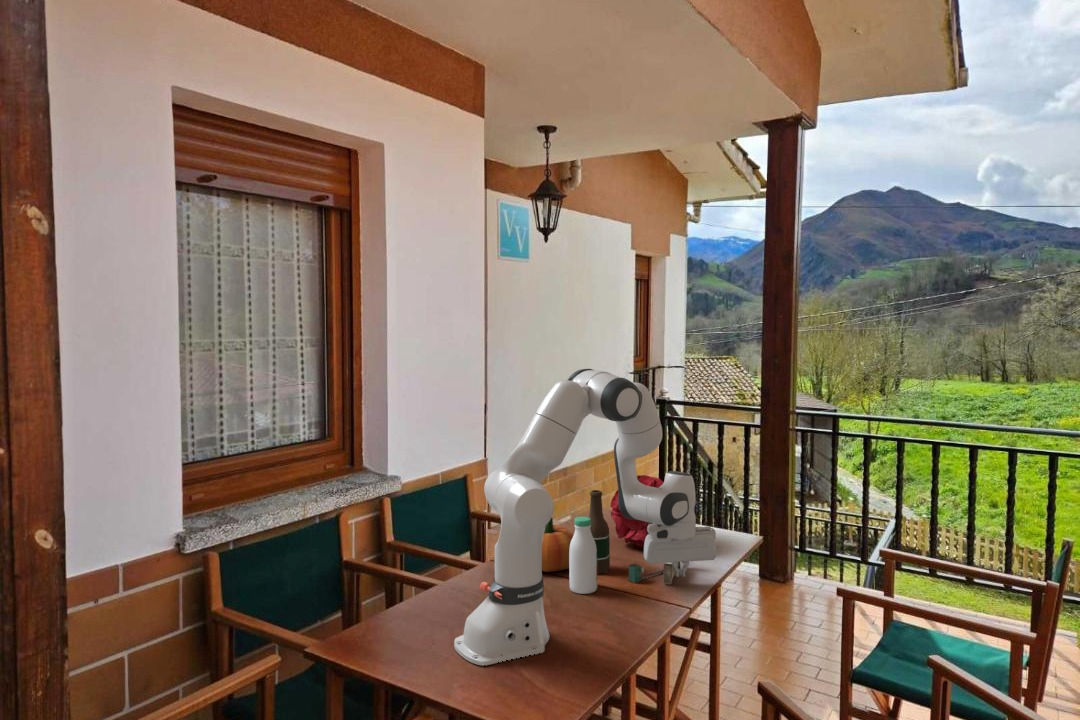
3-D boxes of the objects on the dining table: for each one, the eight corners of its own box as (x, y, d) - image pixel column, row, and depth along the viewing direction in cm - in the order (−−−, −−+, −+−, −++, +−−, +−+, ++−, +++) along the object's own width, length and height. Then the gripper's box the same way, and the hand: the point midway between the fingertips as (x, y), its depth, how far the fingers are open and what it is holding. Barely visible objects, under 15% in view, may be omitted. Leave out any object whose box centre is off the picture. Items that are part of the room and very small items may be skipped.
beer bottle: (597, 577, 196) (596, 495, 195) (578, 570, 202) (577, 491, 201) (615, 570, 201) (614, 491, 200) (596, 563, 207) (595, 486, 206)
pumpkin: (535, 551, 220) (534, 505, 219) (589, 559, 211) (589, 512, 210) (506, 571, 202) (505, 522, 201) (565, 581, 194) (564, 529, 193)
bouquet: (690, 559, 228) (620, 505, 242) (722, 506, 219) (648, 453, 232) (663, 585, 211) (589, 525, 224) (697, 528, 202) (618, 469, 215)
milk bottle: (595, 595, 183) (594, 523, 182) (567, 593, 185) (566, 521, 183) (598, 584, 191) (598, 515, 189) (571, 583, 192) (571, 513, 191)
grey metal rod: (639, 580, 193) (639, 579, 193) (637, 579, 194) (637, 577, 194) (674, 570, 201) (674, 568, 201) (671, 568, 202) (671, 567, 202)
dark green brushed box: (635, 583, 191) (635, 568, 191) (628, 580, 193) (628, 565, 193) (643, 580, 193) (643, 565, 193) (637, 578, 195) (637, 562, 195)
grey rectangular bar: (671, 568, 201) (671, 551, 201) (678, 569, 200) (678, 552, 200) (663, 583, 190) (663, 565, 189) (670, 584, 189) (670, 566, 188)
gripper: (711, 522, 193) (712, 569, 194) (641, 526, 192) (642, 573, 193) (719, 529, 187) (719, 578, 188) (647, 533, 185) (647, 582, 186)
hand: (680, 576), depth 190 cm, fingers closed
